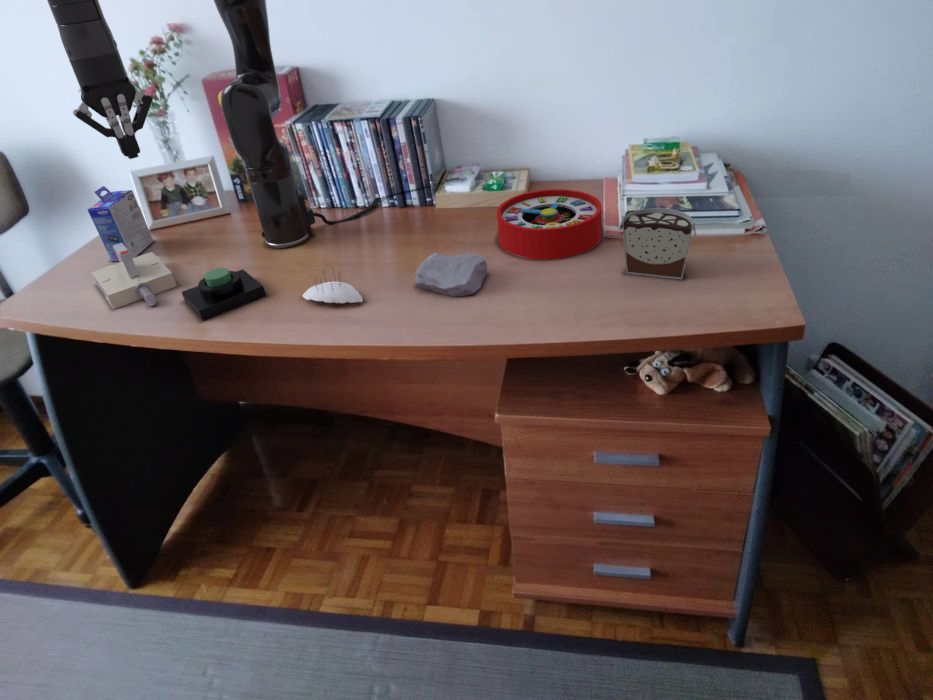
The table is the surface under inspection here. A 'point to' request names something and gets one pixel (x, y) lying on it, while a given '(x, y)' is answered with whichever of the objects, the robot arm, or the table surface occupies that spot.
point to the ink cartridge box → (120, 222)
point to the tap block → (133, 280)
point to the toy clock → (549, 223)
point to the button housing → (223, 295)
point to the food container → (657, 242)
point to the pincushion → (333, 292)
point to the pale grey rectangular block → (126, 260)
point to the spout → (145, 293)
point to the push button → (217, 277)
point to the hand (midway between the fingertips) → (133, 157)
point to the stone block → (452, 274)
